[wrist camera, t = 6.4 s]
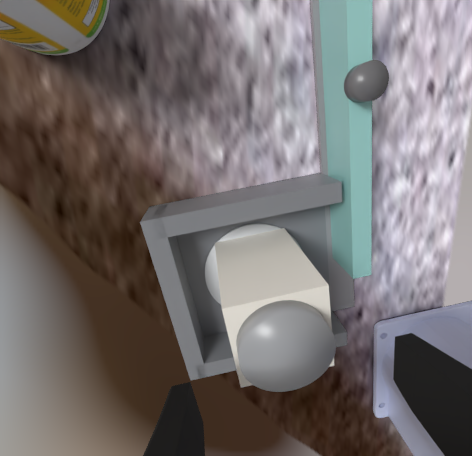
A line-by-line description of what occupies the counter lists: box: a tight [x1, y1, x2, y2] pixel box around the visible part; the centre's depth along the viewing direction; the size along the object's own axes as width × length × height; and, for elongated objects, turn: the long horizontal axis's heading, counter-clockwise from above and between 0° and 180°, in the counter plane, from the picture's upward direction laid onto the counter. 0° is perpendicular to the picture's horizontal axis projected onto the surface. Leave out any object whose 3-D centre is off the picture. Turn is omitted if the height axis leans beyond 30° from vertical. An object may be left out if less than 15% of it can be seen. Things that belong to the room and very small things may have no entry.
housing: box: [140, 0, 354, 380], centre depth 15 cm, size 18×11×2 cm, turn 11°
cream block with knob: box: [215, 228, 336, 392], centre depth 13 cm, size 4×4×7 cm
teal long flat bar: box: [319, 0, 389, 279], centre depth 13 cm, size 13×1×3 cm, turn 11°
